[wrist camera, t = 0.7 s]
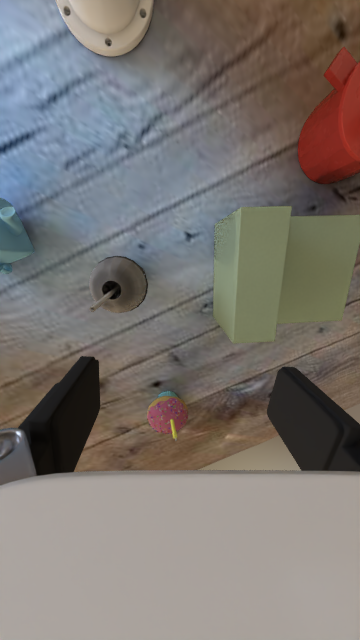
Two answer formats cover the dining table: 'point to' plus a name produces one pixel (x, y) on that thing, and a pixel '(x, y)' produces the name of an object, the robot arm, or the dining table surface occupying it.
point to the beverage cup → (117, 285)
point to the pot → (328, 130)
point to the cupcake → (167, 413)
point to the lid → (351, 115)
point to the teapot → (12, 238)
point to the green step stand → (281, 270)
